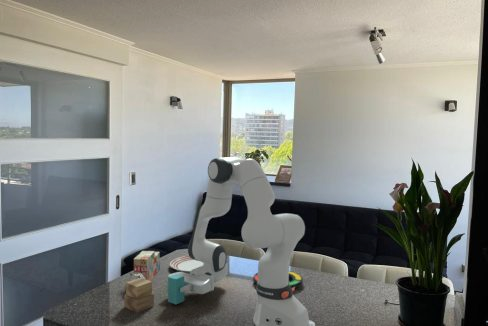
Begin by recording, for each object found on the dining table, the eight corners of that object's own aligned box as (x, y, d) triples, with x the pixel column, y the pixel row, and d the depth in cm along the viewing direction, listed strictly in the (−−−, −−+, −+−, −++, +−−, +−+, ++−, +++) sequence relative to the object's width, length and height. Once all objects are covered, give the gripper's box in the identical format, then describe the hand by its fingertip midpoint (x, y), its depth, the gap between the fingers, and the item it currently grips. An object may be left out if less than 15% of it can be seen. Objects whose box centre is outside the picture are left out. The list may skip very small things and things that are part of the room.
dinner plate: (163, 276, 182) (163, 269, 182) (176, 258, 209) (176, 253, 209) (220, 277, 181) (220, 271, 181) (225, 260, 208) (225, 254, 208)
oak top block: (152, 294, 148) (151, 281, 148) (137, 299, 143) (137, 286, 142) (140, 289, 152) (140, 277, 152) (126, 295, 147) (126, 282, 147)
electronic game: (307, 279, 180) (307, 269, 180) (295, 297, 159) (295, 286, 159) (262, 272, 189) (262, 263, 189) (245, 288, 168) (245, 278, 168)
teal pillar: (184, 300, 150) (184, 276, 150) (176, 304, 146) (175, 279, 146) (176, 298, 153) (176, 273, 152) (168, 301, 149) (168, 276, 149)
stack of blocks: (147, 269, 191) (147, 245, 191) (160, 269, 191) (160, 245, 190) (133, 285, 170) (133, 258, 169) (147, 285, 170) (147, 258, 169)
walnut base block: (153, 306, 149) (153, 293, 148) (137, 313, 142) (137, 300, 142) (140, 301, 153) (140, 289, 153) (124, 307, 147) (124, 295, 147)
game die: (132, 300, 162) (118, 282, 161) (145, 287, 169) (131, 270, 168) (143, 295, 157) (128, 276, 156) (156, 282, 164) (142, 264, 163)
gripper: (181, 266, 166) (157, 274, 155) (216, 276, 154) (192, 286, 142) (181, 280, 166) (157, 289, 155) (216, 291, 154) (192, 302, 143)
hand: (174, 288), depth 149 cm, fingers closed on teal pillar, 4 cm apart
